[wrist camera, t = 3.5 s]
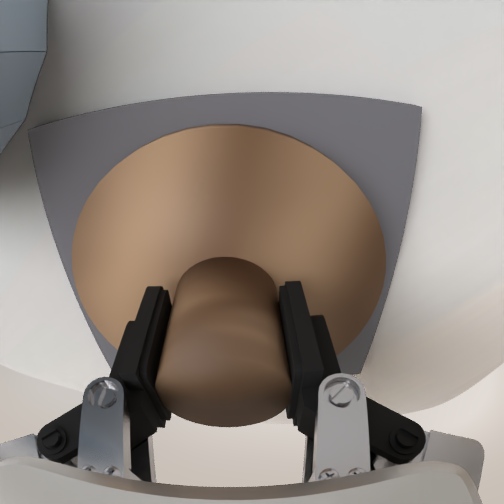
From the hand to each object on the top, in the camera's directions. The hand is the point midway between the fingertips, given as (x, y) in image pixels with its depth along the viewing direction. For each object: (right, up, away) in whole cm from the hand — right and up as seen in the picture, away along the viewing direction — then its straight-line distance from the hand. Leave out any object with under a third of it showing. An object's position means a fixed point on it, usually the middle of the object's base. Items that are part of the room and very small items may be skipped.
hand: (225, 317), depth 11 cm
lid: (0, +1, +2) cm, 2 cm away
